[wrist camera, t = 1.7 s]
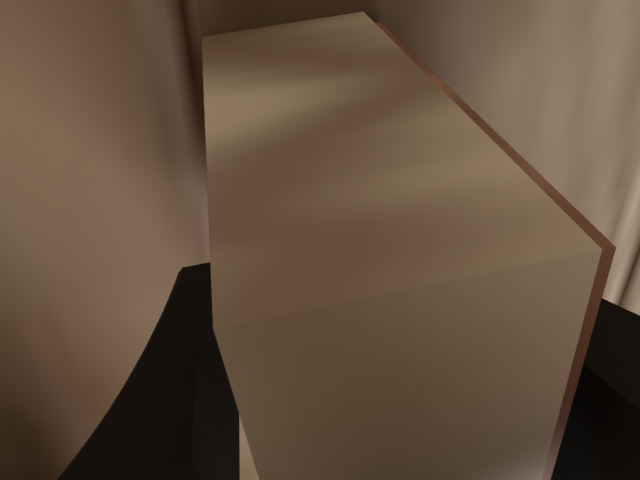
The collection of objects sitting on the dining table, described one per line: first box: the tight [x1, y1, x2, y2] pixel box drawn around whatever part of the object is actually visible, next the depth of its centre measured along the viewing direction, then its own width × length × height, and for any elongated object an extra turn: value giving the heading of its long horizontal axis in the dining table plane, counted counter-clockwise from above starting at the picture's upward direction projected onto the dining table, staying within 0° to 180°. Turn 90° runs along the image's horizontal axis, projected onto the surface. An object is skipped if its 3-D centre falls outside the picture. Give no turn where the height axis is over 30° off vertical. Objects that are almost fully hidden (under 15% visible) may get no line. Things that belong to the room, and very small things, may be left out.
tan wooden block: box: [202, 12, 616, 480], centre depth 10 cm, size 4×9×8 cm, turn 5°
